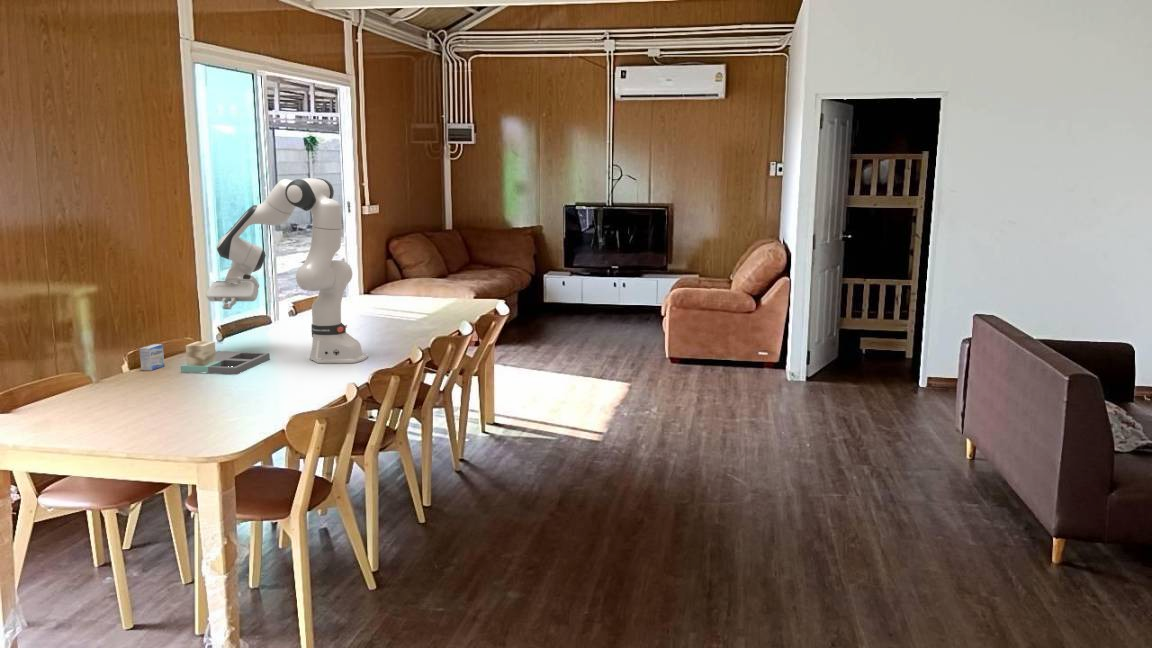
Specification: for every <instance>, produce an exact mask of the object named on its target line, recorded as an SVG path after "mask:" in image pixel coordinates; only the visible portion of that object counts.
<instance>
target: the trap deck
mask: <svg viewBox="0 0 1152 648" xmlns="http://www.w3.org/2000/svg"><path fill="white" fill-rule="evenodd" d="M215 353H216V361H215V362H213V363H210V364H208V365H205V366H196V365H187V362H186V363H183V364H181V365H180V373H187V372H206V373H205V374H209V373H221V374H220V375H231V374H237V375H238V373H239V374H240V372H241V373H243V372H245V371H248V370H250V369H252V368H254V367H256V366H258V365H260V364H262V363H265V362H267V361H269V360H271V357H270V353H268V352H249V351H247V352H245V351H224V350H222V351H221V350H220V351H219V350H217V351H215ZM228 366H229V367H228ZM231 366H233V367H231ZM247 369H248V370H247Z"/></svg>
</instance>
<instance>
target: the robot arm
mask: <svg viewBox="0 0 1152 648" xmlns="http://www.w3.org/2000/svg"><path fill="white" fill-rule="evenodd" d="M334 191H335V190H334V187H333V185H332V184H331V182H330V181H328V180H326V179H323V178H319V177H318V178H312V177H311V178H310V177H307V178H306V177H305V178H297V179H294V180H291V179H288V178H284V179H281V180H279V181H278V182H277V184H275V185H274V187H273V188H272V190H270V192H269V193H268V194H267V195H268V196H267V197H266V198H265V200H264V201H263V202H261V203H260V204H253V205H251V206H250V207H249V208H248V209H247V210H246V211H245V212H244V213H243V214H242V215H241V217H239V219H238V220H237V221H236V222H235V224H234V225H233V226H232V227H231V228H230V229H228V231H227V232H226V233H225V234H224V235H223V236H222V237H220V239H219V241H218V243H217V246H216V251H217V253H218V255H219V256H220V258H223V259H226V260H229V261H232V262H231V264H230V265H231V266H230V268H229V270H228V272H227V273H226V276H225V278H224V280H216V281H214V282H212V283H211V285H210V286H209V287H208V290H207V292H206V294H205V297H206V299H207V300H208V301H209V302H222V303H223V304H222V307H221V308H222V310H232V308H233V306H235V305H237V302H255V301H256V300H257V298H258V296H259V295H258V294H259V288H260V284H259V282H258V280H257V279H256V277H255V276H254V275H252V273H254V272H255V273H256V272H257V271H259V270H260V269H262V267H263V265H264V262H265V258H266V252H265V249H264V248H262V247H261V246H258V245H256V244H254V243H252V242H250V241H247V240H245V239H242V238H241V237H240V236H241V235H242V234H243V233H244V231H246V229H248V228H249V226H252V225H265V226H266V225H267V226H280V225H283V224H285V223H287V221H288V220H289V218H291V216H292V214H293V213H294V210H296V208H299V209H301V210H303V211H305V212H308V211H310V212H311V215H312V227H311V242H310V248H309V252H308V254H307V257H306V258H305V260H304V262H303V264H302V265H301V266H300V267H299V268H298V269H297V271H296V274H295V280H296V283H297V286H298V287H299V288H300V289H301V290H303V291H307V292H318V294H317V297H316V299H315V300H314V301H313V302H312V304H311V316H312V318H311V319H312V323H311V337H312V344H311V345H312V346H311V353H310V357H309V360H311V361H312V360H313V362H315V363H316V364H355V363H360V362H362V361H364V360H366V359H367V358H369V357H368V354H367V353H364V352H363V349H362V345H361V343H360V342H359V340H357V339H356V338H354V337H353V335H350V334H349V333H348V332H347V331H346V330H347V328H348V324H345V325H344V323H342V308H341V307H342V299H343V296H344V293H345V290H346V287H347V286H348V284H349V283H350V282H351V280H352V279H353V270H352V269H353V268H352V267H351V265H350V264H349V263H348V262H347V261H343V260H337V259H336V260H335V259H333V258H334V256H335V255H336V254H337V252H338V251H339V250H340V248H341V243H342V230H343V229H342V228H343V227H342V226H343V225H342V223H343V218H342V210H341V205H340V203H339V202H338V201H337V200H336V199H333V198H334Z"/></svg>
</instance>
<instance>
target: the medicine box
mask: <svg viewBox="0 0 1152 648" xmlns="http://www.w3.org/2000/svg"><path fill="white" fill-rule="evenodd" d="M164 356H165V355H164V345H163V344H161V343H160V344H159V343H153V344H150V345H147V346H143V347H140V348H139V359H140V368H141V369H140V370H141V371H151V372H152V371H155V370H158V369H161V368H163V367H165V365H166V364H165V357H164Z"/></svg>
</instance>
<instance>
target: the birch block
mask: <svg viewBox="0 0 1152 648" xmlns="http://www.w3.org/2000/svg"><path fill="white" fill-rule="evenodd" d="M215 343H216V342H215V341H202V340H200V341H199V340H198V341H195V342H192V343H189V344H186V345H185V353H186V354H185V355H186V363H187V365H196V366H205V365H208V364H210V363H213V362H215V361H216V353H215V352H216V344H215Z"/></svg>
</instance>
